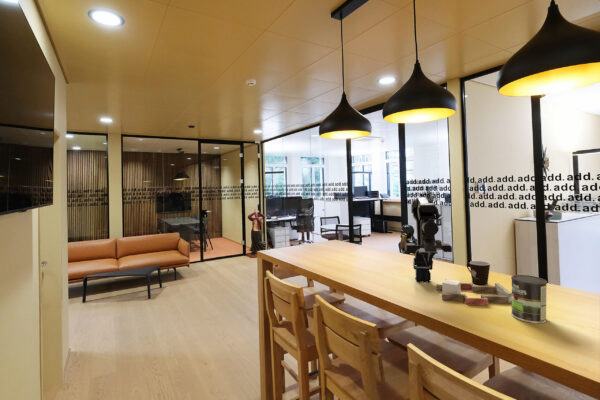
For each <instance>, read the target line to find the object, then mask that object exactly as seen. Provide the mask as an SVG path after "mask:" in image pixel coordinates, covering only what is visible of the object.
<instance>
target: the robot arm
mask: <svg viewBox="0 0 600 400" xmlns="http://www.w3.org/2000/svg"><path fill="white" fill-rule="evenodd" d="M410 211H411V214H412V217H413V219H414V221H415V223H416V225H415V226H416V240H417V241H416V243H417V244H415V243H412V242H409V243H408V242H406V243H405V245H404V246H405V247H404V249H405V251H406V253H407V252H409V253H412V252H415V253H414V257H413V259H412V260H413V262H412V266H413V267H412V268H413V270H415V277H414V280H415V281H416V282H417V283H431V280H432V279H431V277H432V274H431V270H433V265H434V259H433V258H434V256H435V255H438V251H441V250H442V252H444V253H452V252H453V247H452V245H451V244H449V243H443V242H442V240H441V239H436V236H435V235H436V234H438V232H439V230H440V229H439V225H438V224H437V223H436V222H435V221H439V218H440V213H439V208H438V206H437V205H436V204H435V203H433V202H429V201H428V198H427V197H425V196H417V197H415V200H414V201H413V202H411V207H410Z"/></svg>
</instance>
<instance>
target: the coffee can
mask: <svg viewBox="0 0 600 400" xmlns="http://www.w3.org/2000/svg"><path fill="white" fill-rule="evenodd" d="M510 279H511V293H512V303H511V313H510V314H511V316H512V317H513V318H515V319H516V320H519V321H522V322H525V323H530V324H544V323H546V322H547V320H548V319H547V284H548V282H547V280H546V279H544V278H541V277H538V276H535V275H533V276H532V275H529V274H528V275H527V274H526V275H524V274H516V275H512V276H511V278H510Z"/></svg>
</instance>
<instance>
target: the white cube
mask: <svg viewBox="0 0 600 400" xmlns="http://www.w3.org/2000/svg"><path fill="white" fill-rule="evenodd" d="M460 283H461V281H460V280H453V279H446V278H445V280H443V281H442V291H441V292H442V293H449V294H462V292H461V284H460ZM442 293H441V294H442Z"/></svg>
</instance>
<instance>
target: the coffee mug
mask: <svg viewBox="0 0 600 400" xmlns="http://www.w3.org/2000/svg"><path fill="white" fill-rule="evenodd" d="M490 267H491V263H489V262H487V261H482V260H472V261H471V260H470V262H467V263H466V268H467V270H468V272H469V273H470V275H471V283H472V284H473V285H474V286H487V285H488V284H489V276H490Z"/></svg>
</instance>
